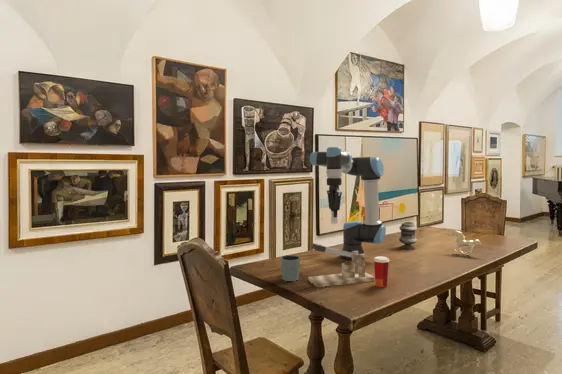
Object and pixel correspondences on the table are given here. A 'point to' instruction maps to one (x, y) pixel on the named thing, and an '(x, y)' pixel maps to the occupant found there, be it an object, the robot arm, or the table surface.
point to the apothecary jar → (408, 235)
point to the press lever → (334, 251)
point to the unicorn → (464, 242)
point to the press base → (342, 279)
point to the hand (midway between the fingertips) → (334, 223)
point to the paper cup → (381, 271)
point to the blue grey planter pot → (290, 267)
